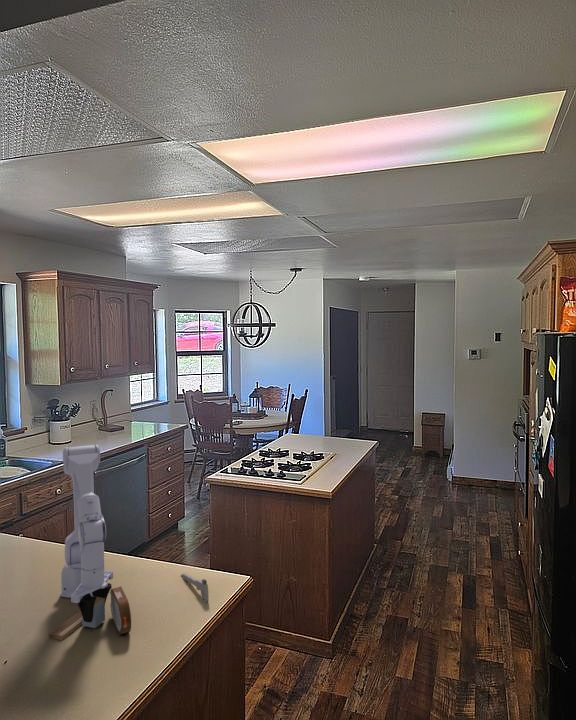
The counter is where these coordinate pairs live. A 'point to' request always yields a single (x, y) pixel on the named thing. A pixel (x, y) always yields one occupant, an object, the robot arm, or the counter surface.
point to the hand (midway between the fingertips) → (93, 616)
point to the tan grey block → (96, 613)
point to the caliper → (198, 585)
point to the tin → (120, 610)
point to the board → (67, 627)
